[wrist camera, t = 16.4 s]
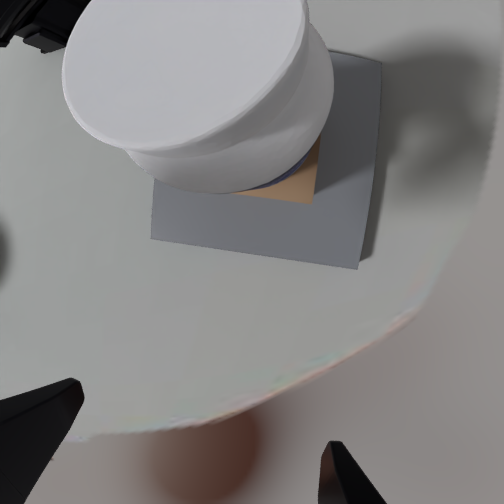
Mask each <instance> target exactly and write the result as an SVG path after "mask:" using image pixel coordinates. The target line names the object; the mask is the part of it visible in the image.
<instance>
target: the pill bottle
mask: <svg viewBox="0 0 504 504" xmlns="http://www.w3.org/2000/svg"><path fill="white" fill-rule="evenodd" d="M62 84H63V91H64V96H65V100H66V102H67V105H68V107H69V109H70V111H71V113H72V115H73V117H74V118H75V119H76V121H77V122H78V123H79V124H80V125H81V127H82V128H83V129H85V130H86V131H87V132H88V133H89V134H91V135H92V136H93V137H95V138H96V139H98V140H100V141H102V142H104V143H107V144H109V145H112V146H115V147H118V148H121V149H125V150H126V152H127V153H128V154H129V156H130V157H131V158H132V159H133V160H134V162H135V163H137V164H138V165H139V166H140V167H141V168H142V169H143V170H145V171H146V172H147V173H149V174H150V175H151V176H153V177H154V178H156V179H157V180H159V181H161V182H163V183H165V184H167V185H170V186H172V187H175V188H178V189H181V190H185V191H190V192H196V193H206V194H228V193H235V192H242V191H248V190H255V189H261V188H266V187H270V186H273V185H275V184H278V183H280V182H281V181H283V180H285V179H287V178H288V177H290V176H291V175H292V174H293V173H294V172H295V171H296V170H297V169H299V167H300V166H301V165H302V164H303V162H304V161H305V159H306V158H307V156H308V154H309V152H310V150H311V148H312V147H313V145H314V144H315V142H316V140H317V139H318V137H319V135H320V133H321V131H322V129H323V127H324V125H325V122H326V120H327V117H328V114H329V112H330V108H331V104H332V100H333V93H334V75H333V67H332V62H331V58H330V55H329V52H328V50H327V47H326V45H325V43H324V41H323V40H322V38H321V36H320V35H319V33H318V32H317V30H316V29H315V28H314V27H313V25H312V24H311V23H310V22H309V8H308V4H307V0H91V2H90V3H89V4H88V5H87V7H86V8H85V10H84V11H83V13H82V14H81V16H80V18H79V19H78V21H77V23H76V24H75V26H74V29H73V31H72V33H71V35H70V37H69V40H68V43H67V46H66V50H65V54H64V58H63V66H62Z"/></svg>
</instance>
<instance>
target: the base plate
mask: <svg viewBox="0 0 504 504" xmlns="http://www.w3.org/2000/svg"><path fill="white" fill-rule="evenodd" d="M328 52H329V51H328ZM329 55H330V58H331V62H332V67H333V75H334V93H333V100H332V104H331V108H330V112H329V114H328V117H327V120H326V122H325V125H324V127H323V129H322V131H321V139H320V148H319V156H318V164H317V172H316V180H315V187H314V194H313V201H312V205H311V204H305V203H298V202H292V201H285V200H278V199H270V198H263V197H255V196H247V195H239V194H231V193H228V194H206V193H196V192H190V191H185V190H181V189H178V188H175V187H172V186H170V185H167V184H165V183H163V182H161V181H159V180H157V179H156V178H155V180H154V191H153V205H152V221H151V239H154V240H161V241H168V242H174V243H181V244H188V245H194V246H201V247H208V248H214V249H221V250H228V251H235V252H241V253H248V254H255V255H261V256H268V257H275V258H282V259H288V260H295V261H302V262H309V263H315V264H322V265H329V266H336V267H342V268H349V269H356V270H357V269H358V265H359V260H360V255H361V250H362V245H363V240H364V235H365V229H366V223H367V217H368V211H369V205H370V199H371V192H372V185H373V177H374V169H375V161H376V152H377V142H378V131H379V118H380V102H381V77H382V63H380V62H376V61H372V60H368V59H364V58H359V57H355V56H350V55H345V54H340V53H334V52H329Z"/></svg>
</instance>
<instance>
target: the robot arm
mask: <svg viewBox="0 0 504 504" xmlns="http://www.w3.org/2000/svg"><path fill="white" fill-rule="evenodd" d="M90 2H91V0H0V47H7V45H8V44H9V43H10V40H11V39H12V37H13V36H14V35H16V36H19V37H22V38H24V39H23V42H24V43H25V44H28V45H31V46H33V47H36V48H39V49H41V53H43V54H45V53H48V52H53V51H56V50H58V49H61V48H64V47H66V46H67V43H68V40H69V37H70V35H71V33H72V31H73V29H74V26H75V24H76V23H77V21H78V19H79V18H80V16H81V14H82V13H83V11H84V10H85V8H86V7H87V5H88V4H89V3H90ZM84 398H85V397H84V393H83V389H82V385H81V383H80V381H78V380H76V379H74V378H67V379H65V380H62V381H59V382H56V383H53V384H50V385H47V386H44V387H41V388H38V389H35V390H32V391H28V392H25V393H22V394H19V395H16V396H12V397H9V398H6V399H2V400H0V504H24V503H25V501H26V499H27V497H28V495H29V494H30V492H31V490H32V489H33V487H34V485H35V484H36V482H37V481H38V479H39V477H40V475H41V474H42V472H43V471H44V469H45V467H46V466H47V464H48V463H49V461H50V460H51V458H52V456H53V455H54V453H55V452H56V450H57V449H58V447H59V445H60V444H61V442H62V441H63V439H64V438H65V436H66V435H67V433H68V431H69V430H70V428H71V426H72V424H73V422H74V420H75V418H76V416H77V414H78V412H79V410H80V408H81V406H82V404H83V402H84ZM318 504H387V503H386V502H385V501H384V499H383V498H382V496H381V495H380V494H379V492H378V491H377V490H376V488H375V487H374V486H373V484H372V483H371V482H370V480H369V479H368V477H367V476H366V475H365V473H364V472H363V471H362V469H361V468H360V466H359V465H358V464H357V462H356V461H355V460H354V458H353V457H352V456H351V454H350V453H349V451H348V450H347V449H346V447H345V446H344V444H343V443H342V442H341V441H329V442H328V444H327V446H326V448H325V450H324V452H323V454H322V457H321V467H320V479H319V490H318Z"/></svg>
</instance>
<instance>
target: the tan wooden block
mask: <svg viewBox="0 0 504 504" xmlns="http://www.w3.org/2000/svg"><path fill="white" fill-rule="evenodd" d="M320 139H321V133H320V135H319V137H318V139H317V140H316V142H315V144H314V145H313V147H312V148H311V150H310V152H309V154H308V156H307V158H306V159H305V161H304V162H303V164H302V165H301V166H300V167H299V169H297V170H296V171H295V172H294V173H293V174H292V175H291V176H290V177H288V178H287V179H285V180H283V181H281V182H280V183H278V184H275V185H273V186H270V187H266V188H261V189H255V190H248V191H242V192H235V193H231V194H239V195H247V196H255V197H263V198H270V199H278V200H285V201H292V202H298V203H305V204H311V205H312V201H313V194H314V187H315V180H316V172H317V164H318V156H319V148H320Z"/></svg>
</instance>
